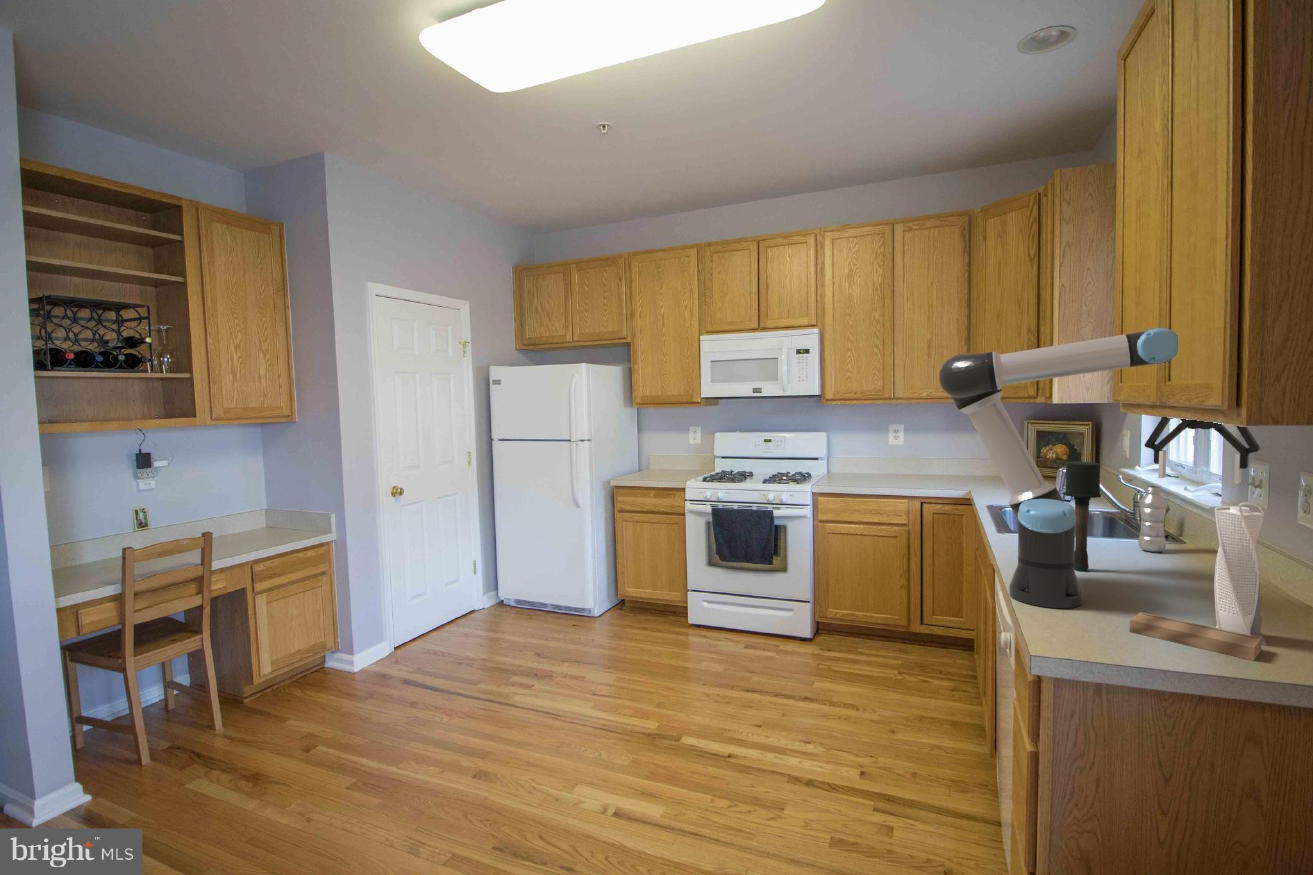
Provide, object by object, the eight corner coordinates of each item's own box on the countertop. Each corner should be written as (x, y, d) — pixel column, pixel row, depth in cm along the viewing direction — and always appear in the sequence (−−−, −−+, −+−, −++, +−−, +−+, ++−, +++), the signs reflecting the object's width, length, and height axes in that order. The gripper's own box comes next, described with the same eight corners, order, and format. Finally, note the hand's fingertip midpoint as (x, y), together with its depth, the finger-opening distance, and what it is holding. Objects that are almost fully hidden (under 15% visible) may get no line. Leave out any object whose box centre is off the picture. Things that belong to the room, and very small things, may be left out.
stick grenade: (1106, 574, 171) (1109, 464, 169) (1074, 574, 171) (1077, 465, 169) (1086, 565, 180) (1088, 461, 177) (1055, 566, 180) (1057, 461, 178)
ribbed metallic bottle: (1163, 555, 188) (1165, 489, 187) (1135, 551, 193) (1137, 486, 192) (1167, 551, 193) (1169, 486, 191) (1140, 547, 198) (1142, 484, 196)
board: (1129, 631, 131) (1129, 619, 131) (1140, 623, 135) (1140, 611, 135) (1253, 660, 116) (1254, 646, 116) (1261, 650, 121) (1261, 637, 120)
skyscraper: (1267, 647, 122) (1273, 504, 120) (1211, 638, 126) (1217, 501, 125) (1260, 634, 128) (1266, 498, 126) (1208, 626, 133) (1212, 495, 131)
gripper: (1280, 387, 138) (1275, 483, 139) (1140, 389, 157) (1138, 474, 159) (1273, 387, 133) (1269, 487, 134) (1130, 390, 153) (1128, 477, 154)
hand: (1198, 480), depth 147 cm, fingers open, 13 cm apart
